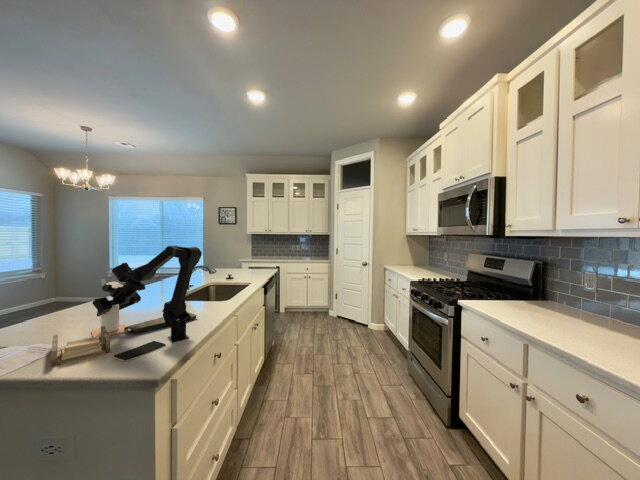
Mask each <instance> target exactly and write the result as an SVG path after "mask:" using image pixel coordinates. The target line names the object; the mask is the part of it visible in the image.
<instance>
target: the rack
mask: <svg viewBox="0 0 640 480" xmlns="http://www.w3.org/2000/svg"><path fill="white" fill-rule="evenodd" d="M110 337H111V336H109V335H108V332H107V330H106V328H105V326H102V327H101V338H99V336H97V337H92V336H90V337H87V338H81V339H75V340H70V341H66V344H65V346H62V347H60V352H58V345H59V344H58V340H59V339H58V338H59V337H58V334H53V335H52V343H51V351H50V365H51V367H55V366H57V365H58V366H60V365H65V364H68V363H69V364H70V363H73V362H76V361H82V360H85V359H89V358H93V357H94V358H95V357H98V356H101V355H106V354H110V353H111V338H110ZM100 340H101V341H100ZM101 342H102V343H101Z"/></svg>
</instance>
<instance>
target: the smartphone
mask: <svg viewBox="0 0 640 480" xmlns="http://www.w3.org/2000/svg"><path fill="white" fill-rule="evenodd" d="M164 347H166V343H164V342H160V341H156V340H152V341H150V342H148V343H145V344H142V345H139V346H136V347H134V348H131V349H128V350H125V351H123V352H120V353H116V354H114V355H112V356H113V358H114V359H116V360H119V361H121V362H129V361H132V360H134V359H136V358H139V357H142V356H144V355H147V354H150V353H152V352H154V351H156V350H159V349H162V348H164Z"/></svg>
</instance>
